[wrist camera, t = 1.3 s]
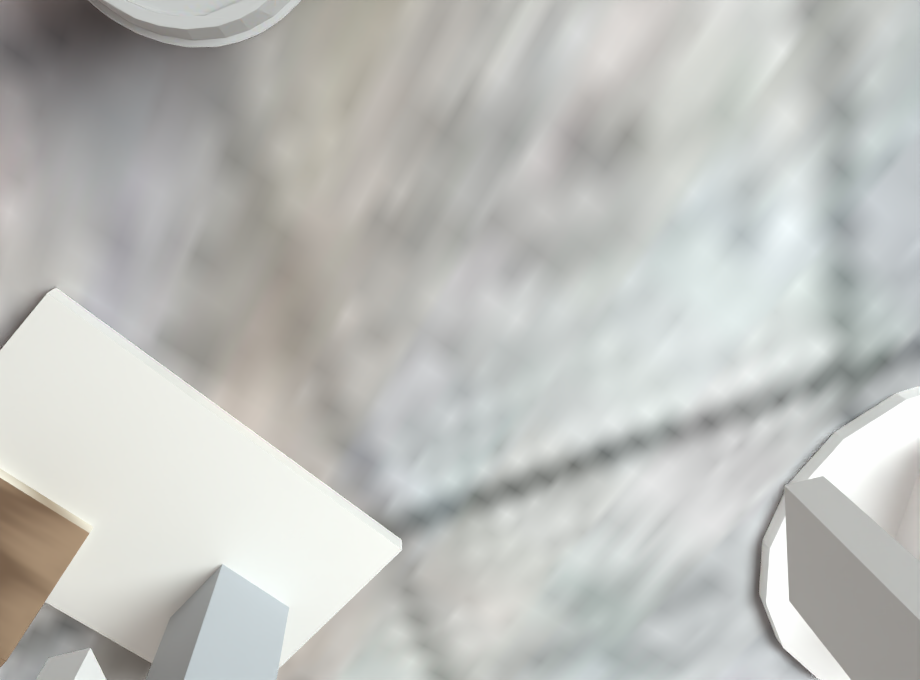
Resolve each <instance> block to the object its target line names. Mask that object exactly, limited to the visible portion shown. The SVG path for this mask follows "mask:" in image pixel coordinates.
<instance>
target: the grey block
mask: <svg viewBox="0 0 920 680" xmlns="http://www.w3.org/2000/svg"><path fill="white" fill-rule="evenodd" d="M288 612H289V607H288V606H286V605H285V604H283V603H282V602H280V601H279V600H277V599H276V598H274V597H272V596H271V595H269V594H268V593H266V592H265V591H263V590H262V589H260V588H259V587H257V586H256V585H254V584H252V583H251V582H249V581H248V580H246V579H245V578H243V577H242V576H240V575H239V574H237V573H235V572H234V571H232V570H231V569H229V568H228V567H226V566H225V565H223V564H222V565H221V566H220V567H219V568H218V569H217V570H216V571H215V572H214V573H213V574H212V575H211V576H210V577H209V578H208V579H207V580H206V581H205V582H204V583H203V584H202V586H201V587H200V588H199V589H198V590H197V591H196V592H195V593H194V594H193V595H192V596H191V597H190V598H189V599H188V600H187V601H186V602H185V603H184V604H183V605H182V606H181V607H180V608H179V609H178V610H177V611H176V612H175V613H174V614H173V615H172V616H171V617H170V619H169V622H168V624H167V627H166V629H165V632H164V635H163V637H162V640H161V642H160V645H159V647H158V650H157V652H156V655H155V657H154V660H153V662H152V665H151V667H150V670H149V672H148V675H147V677H146V680H276V679H277V674H278V668H279V662H280V657H281V651H282V645H283V640H284V634H285V628H286V623H287V617H288Z"/></svg>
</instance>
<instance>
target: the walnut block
mask: <svg viewBox="0 0 920 680" xmlns="http://www.w3.org/2000/svg"><path fill="white" fill-rule="evenodd" d="M92 529H93V526H91V525H90V524H88V523H87V522H85V521H83V520H82V519H80V518H79V517H77V516H75V515H74V514H72V513H71V512H69V511H67V510H66V509H64V508H63V507H61V506H59V505H58V504H56V503H55V502H53V501H51V500H50V499H48V498H47V497H45V496H43V495H42V494H40V493H39V492H37V491H35V490H34V489H32V488H31V487H29V486H27V485H26V484H24V483H23V482H21V481H19V480H18V479H16V478H15V477H13V476H11V475H10V474H8V473H7V472H5V471H3V470H2V469H0V667H1V666H2V665H3V664H4V663H5V662H6V661H7V659H8V658H9V656H10V655H11V653H12V652H13V650H14V648H15V647H16V645H17V644H18V642H19V641H20V639H21V638H22V636H23V635H24V633H25V632H26V630H27V629H28V627H29V625H30V624H31V622H32V621H33V619H34V618H35V616H36V615H37V613H38V612H39V610H40V609H41V607H42V606H43V604H44V602H45V601H46V599H47V598H48V596H49V595H50V593H51V592H52V590H53V589H54V587H55V586H56V584H57V583H58V581H59V579H60V578H61V576H62V575H63V573H64V572H65V570H66V569H67V567H68V566H69V564H70V563H71V561H72V559H73V558H74V556H75V555H76V553H77V552H78V550H79V549H80V547H81V546H82V544H83V543H84V541H85V540H86V538H87V536H88V535H89V533H90V532H91V530H92Z"/></svg>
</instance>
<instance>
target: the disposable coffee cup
mask: <svg viewBox="0 0 920 680" xmlns="http://www.w3.org/2000/svg"><path fill="white" fill-rule="evenodd" d="M88 1H89V2H90V3H91V4H92V5H94V6H95V7H96V8H97V9H98V10H100V11H101V12H102V13H103V14H105V15H106V16H108V17H109V18H111V19H112V20H114V21H115V22H117V23H118V24H120V25H122V26H124V27H126V28H128V29H129V30H131V31H133V32H135V33H137V34H139V35H142V36H145V37H148V38H151V39H154V40H156V41H159V42H162V43H167V44H172V45H178V46H183V47H220V46H224V45H228V44H233V43H237V42H241V41H244V40H246V39H249V38H252V37H255V36H257V35H258V34H260V33H262V32H264V31H266V30H267V29H269V28H270V27H272V26H274V25H275V24H277V23H278V22H279V21H280V20H282V19H283V18H284V17H285V16H286V15H287V14H288V13H289V12H290V11H291V10H292V9H293V8H294V7H295V6H296V5H298V4H299V3H300V2H301V0H88Z"/></svg>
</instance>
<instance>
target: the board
mask: <svg viewBox="0 0 920 680" xmlns="http://www.w3.org/2000/svg"><path fill="white" fill-rule="evenodd" d="M0 469H2V470H3V471H5V472H7V473H8V474H10V475H11V476H13V477H15V478H16V479H18V480H19V481H21V482H23V483H24V484H26V485H27V486H29V487H31V488H32V489H34V490H35V491H37V492H39V493H40V494H42V495H43V496H45V497H47V498H48V499H50V500H51V501H53V502H55V503H56V504H58V505H59V506H61V507H63V508H64V509H66V510H67V511H69V512H71V513H72V514H74V515H75V516H77V517H79V518H80V519H82V520H83V521H85V522H87V523H88V524H90V525H91V526H93V529H92V530H91V532H90V533H89V535H88V536H87V538H86V540H85V541H84V543H83V544H82V546H81V547H80V549H79V550H78V552H77V553H76V555H75V556H74V558H73V559H72V561H71V563H70V564H69V566H68V567H67V569H66V570H65V572H64V573H63V575H62V576H61V578H60V579H59V581H58V583H57V584H56V586H55V587H54V589H53V590H52V592H51V593H50V595H49V596H48V598H47V599H46V601H45V602H46V603H48V604H49V605H51V606H53V607H55V608H56V609H58V610H60V611H62V612H63V613H65V614H67V615H68V616H70V617H72V618H74V619H75V620H77V621H79V622H81V623H82V624H84V625H86V626H88V627H89V628H91V629H93V630H95V631H96V632H98V633H100V634H101V635H103V636H105V637H107V638H108V639H110V640H112V641H114V642H115V643H117V644H119V645H121V646H122V647H124V648H126V649H128V650H129V651H131V652H133V653H134V654H136V655H138V656H140V657H141V658H143V659H145V660H147V661H148V662H150V663H152V662H153V660H154V657H155V655H156V652H157V650H158V647H159V645H160V642H161V640H162V637H163V635H164V632H165V629H166V627H167V624H168V622H169V619H170V617H171V616H172V615H173V614H174V613H175V612H176V611H177V610H178V609H179V608H180V607H181V606H182V605H183V604H184V603H185V602H186V601H187V600H188V599H189V598H190V597H191V596H192V595H193V594H194V593H195V592H196V591H197V590H198V589H199V588H200V587H201V586H202V584H203V583H204V582H205V581H206V580H207V579H208V578H209V577H210V576H211V575H212V574H213V573H214V572H215V571H216V570H217V569H218V568H219V567H220V566H221V565H222V564H223V565H225V566H226V567H228V568H229V569H231V570H232V571H234V572H235V573H237V574H239V575H240V576H242V577H243V578H245V579H246V580H248V581H249V582H251V583H252V584H254V585H256V586H257V587H259V588H260V589H262V590H263V591H265V592H266V593H268V594H269V595H271V596H272V597H274V598H276V599H277V600H279V601H280V602H282V603H283V604H285V605H286V606H288V607H289V612H288V617H287V623H286V628H285V634H284V640H283V645H282V651H281V657H280V662H279V668H280V667H281V666H282V665H283V664H284V663H285V662H286V661H287V660H288V659H289V658H290V657H291V656H292V655H293V654H294V653H295V652H296V651H298V650H299V649H300V648H301V647H302V646H303V645H304V644H305V643H306V642H307V641H308V640H309V639H310V638H311V637H312V636H313V635H314V634H315V633H316V632H317V631H318V630H319V629H320V628H321V627H322V626H323V625H325V624H326V623H327V622H328V621H329V620H330V619H331V618H332V617H333V616H334V615H335V614H336V613H337V612H338V611H339V610H340V609H341V608H342V607H343V606H344V605H345V604H346V603H347V602H348V601H349V600H350V599H352V598H353V597H354V596H355V595H356V594H357V593H358V592H359V591H360V590H361V589H362V588H363V587H364V586H365V585H366V584H367V583H368V582H369V581H370V580H371V579H372V578H373V577H374V576H375V575H376V574H377V573H379V572H380V571H381V570H382V569H383V568H384V567H385V566H386V565H387V564H388V563H389V562H390V561H391V560H392V559H393V558H394V557H395V556H396V555H397V554H398V553H399V552H400V551H401V550H402V540H401V539H400V538H399V537H397V536H396V535H394V534H393V533H392V532H390V531H389V530H388V529H386V528H385V527H383V526H382V525H381V524H379V523H378V522H377V521H375V520H374V519H373V518H371V517H370V516H368V515H367V514H366V513H364V512H363V511H362V510H360V509H359V508H357V507H356V506H355V505H353V504H352V503H351V502H349V501H348V500H346V499H345V498H344V497H342V496H341V495H340V494H338V493H337V492H336V491H334V490H333V489H331V488H330V487H329V486H327V485H326V484H325V483H323V482H322V481H320V480H319V479H318V478H316V477H315V476H314V475H312V474H311V473H310V472H308V471H307V470H305V469H304V468H303V467H301V466H300V465H299V464H297V463H296V462H294V461H293V460H292V459H290V458H289V457H288V456H286V455H285V454H283V453H282V452H281V451H279V450H278V449H277V448H275V447H274V446H273V445H271V444H270V443H268V442H267V441H266V440H264V439H263V438H262V437H260V436H259V435H257V434H256V433H255V432H253V431H252V430H251V429H249V428H248V427H247V426H245V425H244V424H242V423H241V422H240V421H238V420H237V419H236V418H234V417H233V416H231V415H230V414H229V413H227V412H226V411H225V410H223V409H222V408H220V407H219V406H218V405H216V404H215V403H214V402H212V401H211V400H210V399H208V398H207V397H205V396H204V395H203V394H201V393H200V392H199V391H197V390H196V389H194V388H193V387H192V386H190V385H189V384H188V383H186V382H185V381H183V380H182V379H181V378H179V377H178V376H177V375H175V374H174V373H173V372H171V371H170V370H168V369H167V368H166V367H164V366H163V365H162V364H160V363H159V362H157V361H156V360H155V359H153V358H152V357H151V356H149V355H148V354H147V353H145V352H144V351H142V350H141V349H140V348H138V347H137V346H136V345H134V344H133V343H131V342H130V341H129V340H127V339H126V338H125V337H123V336H122V335H120V334H119V333H118V332H116V331H115V330H114V329H112V328H111V327H110V326H108V325H107V324H105V323H104V322H103V321H101V320H100V319H99V318H97V317H96V316H94V315H93V314H92V313H90V312H89V311H88V310H86V309H85V308H83V307H82V306H81V305H79V304H78V303H77V302H75V301H74V300H73V299H71V298H70V297H68V296H67V295H66V294H64V293H63V292H62V291H60V290H59V289H57V288H54V289H53V290H51V291H50V292H48V293H47V294H46V295H45V296H44V298H43V299H42V300H41V301H40V303H39V304H38V305H37V306H36V307H35V309H34V310H33V311H32V312H31V313H30V315H29V316H28V317H27V318H26V320H25V321H24V322H23V323H22V324H21V326H20V327H19V328H18V329H17V331H16V332H15V333H14V334H13V335H12V337H11V338H10V339H9V340H8V341H7V343H6V344H5V345H4V346H3V348H2V349H1V350H0ZM279 668H278V669H279Z"/></svg>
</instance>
